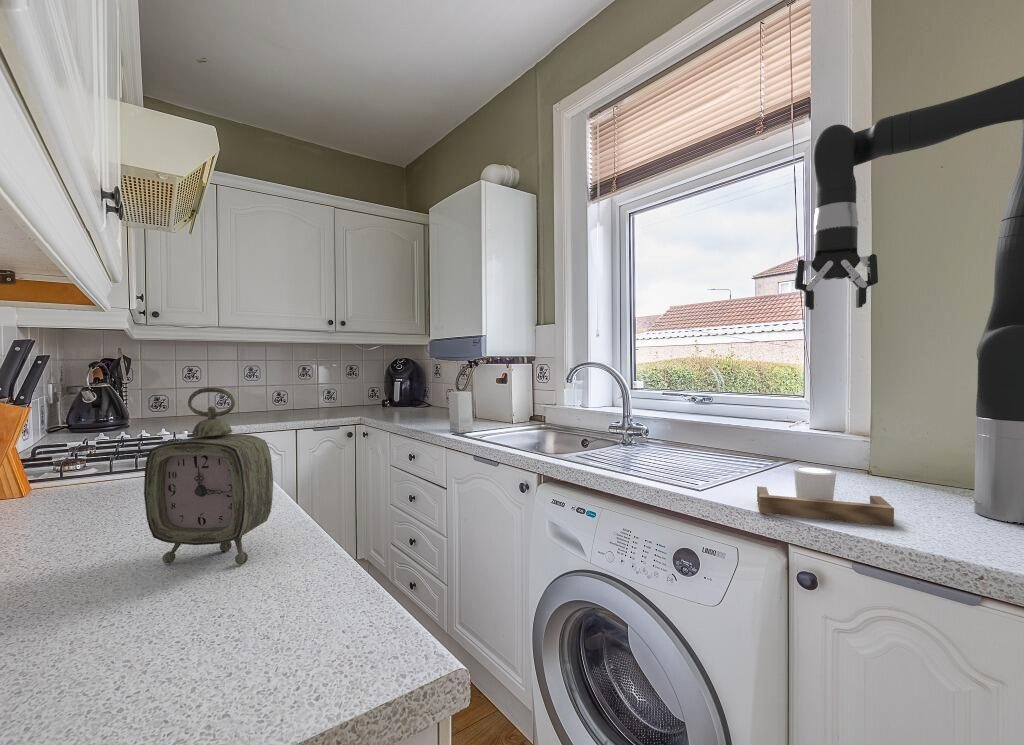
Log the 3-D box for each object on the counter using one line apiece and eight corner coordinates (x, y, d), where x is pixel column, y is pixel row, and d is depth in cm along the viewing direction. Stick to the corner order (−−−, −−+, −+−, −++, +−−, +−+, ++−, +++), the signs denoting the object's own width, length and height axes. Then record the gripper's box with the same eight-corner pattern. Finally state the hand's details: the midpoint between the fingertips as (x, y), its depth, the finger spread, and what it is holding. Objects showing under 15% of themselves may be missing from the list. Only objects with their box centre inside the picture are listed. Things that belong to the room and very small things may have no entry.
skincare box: (473, 432, 192) (472, 391, 191) (457, 433, 188) (457, 392, 188) (463, 429, 199) (463, 390, 198) (448, 431, 196) (447, 391, 195)
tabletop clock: (146, 569, 69) (140, 390, 69) (191, 544, 78) (186, 386, 78) (247, 570, 69) (242, 389, 68) (281, 545, 78) (276, 385, 77)
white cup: (843, 512, 90) (844, 474, 90) (803, 512, 91) (804, 474, 91) (824, 501, 97) (824, 466, 97) (787, 501, 98) (787, 465, 97)
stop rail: (880, 512, 90) (880, 496, 90) (893, 526, 83) (894, 508, 83) (757, 501, 98) (757, 486, 97) (759, 512, 91) (759, 496, 90)
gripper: (871, 229, 103) (871, 308, 103) (793, 236, 108) (792, 311, 109) (882, 220, 96) (881, 305, 96) (798, 228, 101) (797, 308, 102)
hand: (834, 308), depth 103 cm, fingers open, 8 cm apart
